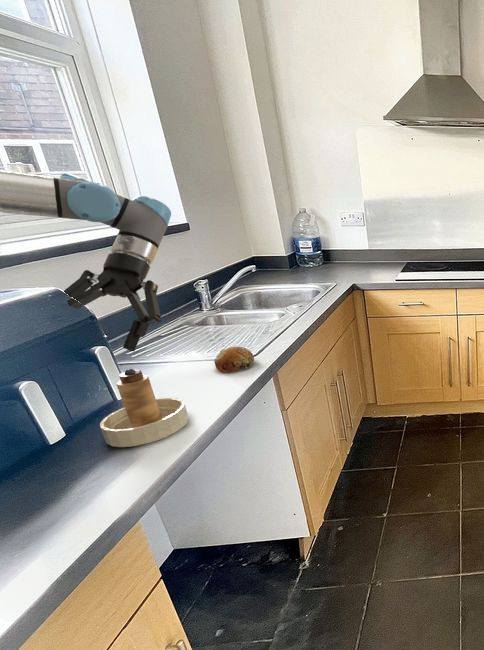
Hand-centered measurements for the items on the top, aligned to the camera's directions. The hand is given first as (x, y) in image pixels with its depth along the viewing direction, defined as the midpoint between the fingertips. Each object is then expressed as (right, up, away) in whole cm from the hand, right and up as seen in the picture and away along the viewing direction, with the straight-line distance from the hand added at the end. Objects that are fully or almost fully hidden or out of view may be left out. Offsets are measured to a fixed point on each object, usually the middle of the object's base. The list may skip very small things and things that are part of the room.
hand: (93, 345), depth 90 cm
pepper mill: (+10, -19, +2) cm, 22 cm away
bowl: (+10, -19, +2) cm, 22 cm away
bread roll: (+8, -8, +35) cm, 37 cm away
